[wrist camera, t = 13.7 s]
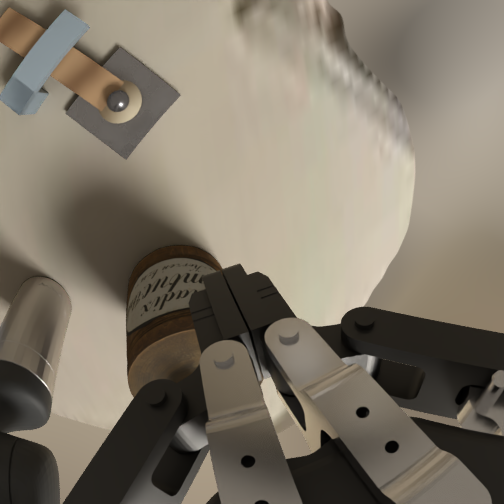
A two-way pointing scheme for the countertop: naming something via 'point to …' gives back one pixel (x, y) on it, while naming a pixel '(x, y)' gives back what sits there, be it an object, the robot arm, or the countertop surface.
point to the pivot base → (143, 118)
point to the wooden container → (164, 315)
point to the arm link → (72, 69)
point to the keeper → (42, 64)
